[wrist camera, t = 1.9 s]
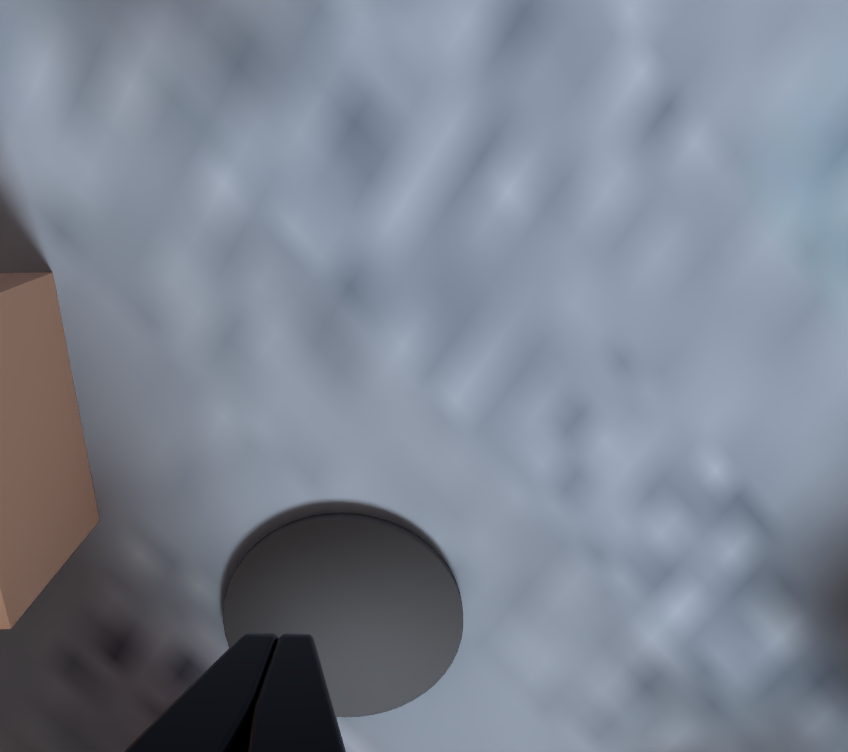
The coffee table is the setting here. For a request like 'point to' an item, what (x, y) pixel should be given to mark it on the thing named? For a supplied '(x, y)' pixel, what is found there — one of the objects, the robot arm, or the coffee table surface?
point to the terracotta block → (37, 445)
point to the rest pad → (353, 606)
